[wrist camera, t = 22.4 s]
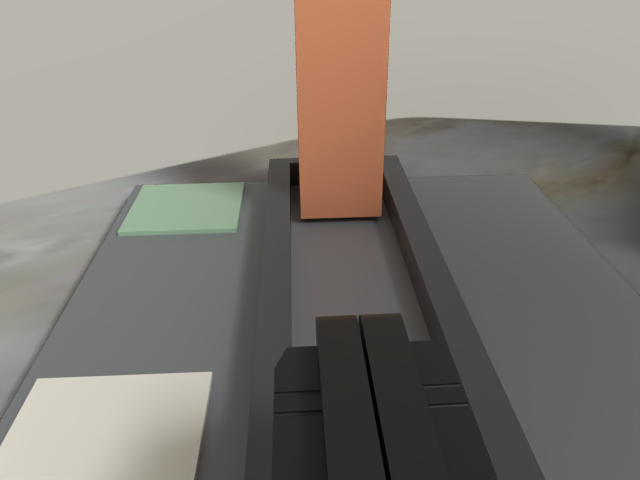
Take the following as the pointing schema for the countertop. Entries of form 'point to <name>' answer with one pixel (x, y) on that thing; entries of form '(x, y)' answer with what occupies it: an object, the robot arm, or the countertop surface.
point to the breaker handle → (341, 105)
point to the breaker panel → (329, 300)
